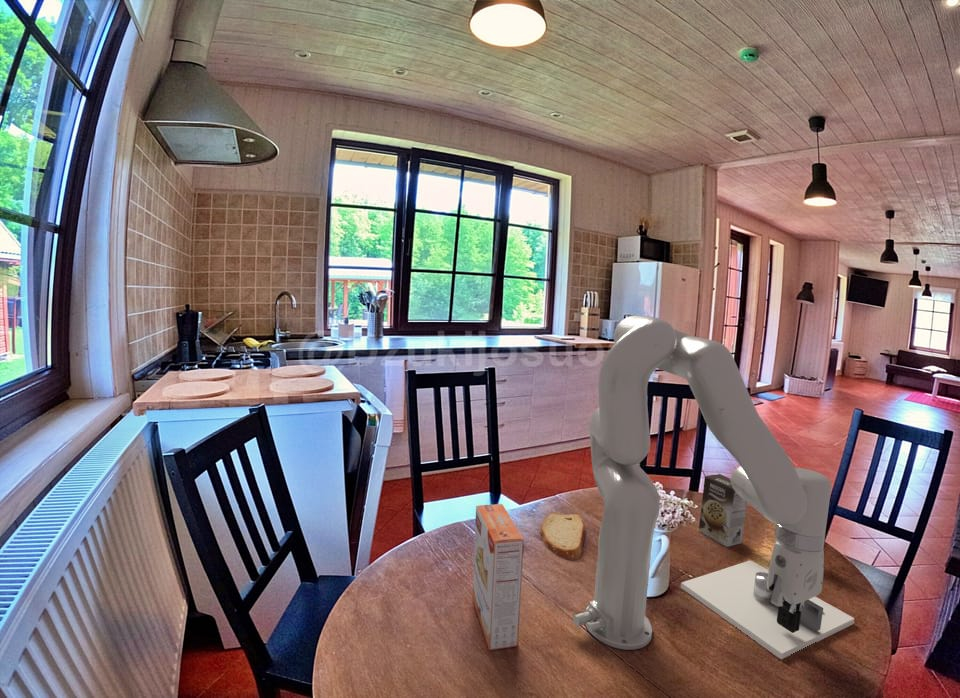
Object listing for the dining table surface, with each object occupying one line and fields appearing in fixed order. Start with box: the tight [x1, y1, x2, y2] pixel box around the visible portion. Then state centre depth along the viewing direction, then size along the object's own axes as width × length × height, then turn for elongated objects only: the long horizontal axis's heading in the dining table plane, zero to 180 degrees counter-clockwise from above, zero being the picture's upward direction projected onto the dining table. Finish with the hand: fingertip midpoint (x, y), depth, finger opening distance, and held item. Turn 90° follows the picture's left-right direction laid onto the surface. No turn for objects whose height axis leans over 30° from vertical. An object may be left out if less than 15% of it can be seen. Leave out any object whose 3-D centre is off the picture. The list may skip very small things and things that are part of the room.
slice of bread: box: [540, 512, 586, 561], centre depth 122 cm, size 18×18×4 cm
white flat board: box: [680, 560, 856, 660], centre depth 98 cm, size 24×22×1 cm
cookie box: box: [698, 473, 748, 548], centre depth 125 cm, size 9×6×16 cm
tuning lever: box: [753, 572, 823, 632], centre depth 94 cm, size 12×4×4 cm, turn 26°
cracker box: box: [472, 503, 525, 651], centre depth 87 cm, size 14×6×21 cm, turn 13°
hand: (787, 626), depth 88 cm, fingers closed
